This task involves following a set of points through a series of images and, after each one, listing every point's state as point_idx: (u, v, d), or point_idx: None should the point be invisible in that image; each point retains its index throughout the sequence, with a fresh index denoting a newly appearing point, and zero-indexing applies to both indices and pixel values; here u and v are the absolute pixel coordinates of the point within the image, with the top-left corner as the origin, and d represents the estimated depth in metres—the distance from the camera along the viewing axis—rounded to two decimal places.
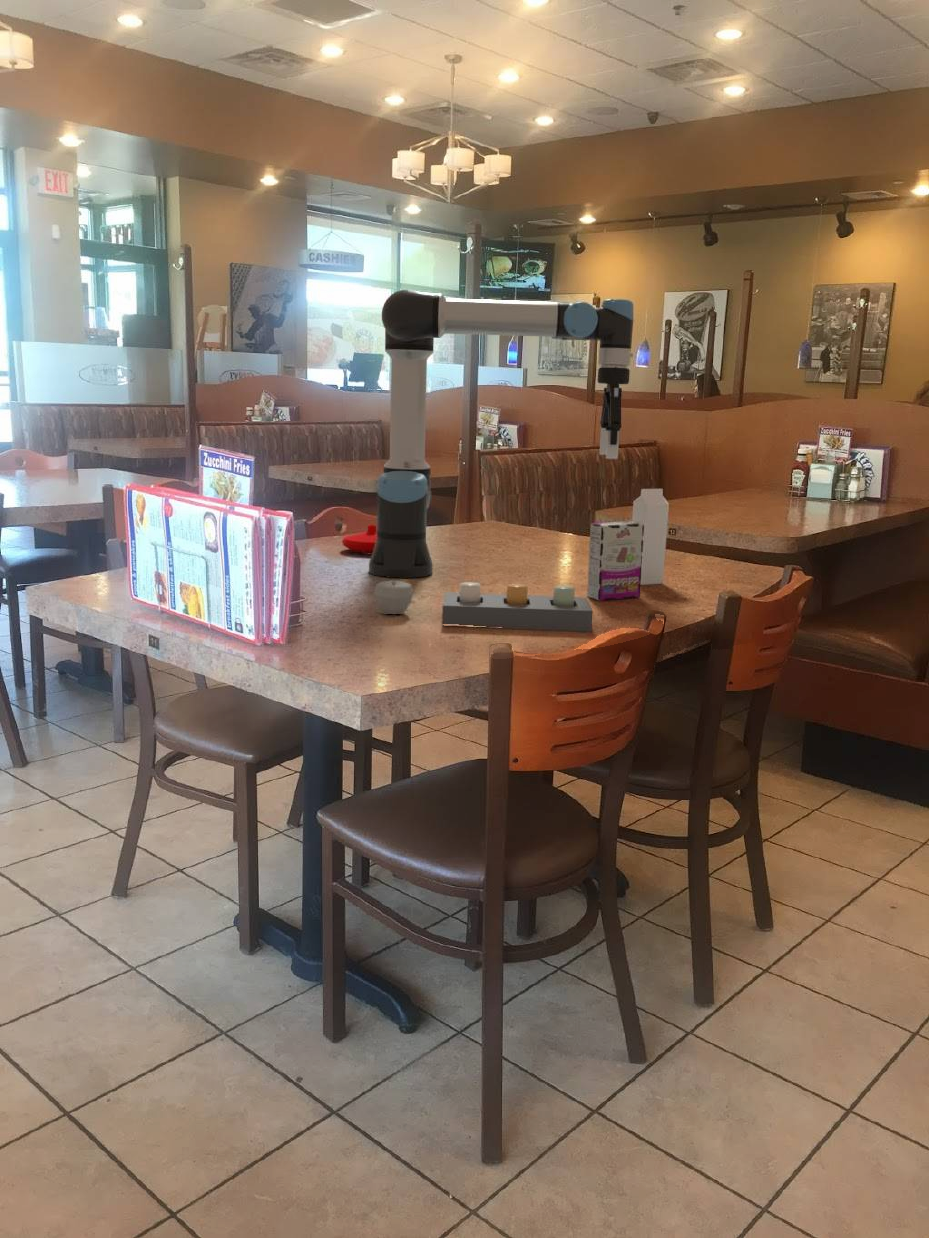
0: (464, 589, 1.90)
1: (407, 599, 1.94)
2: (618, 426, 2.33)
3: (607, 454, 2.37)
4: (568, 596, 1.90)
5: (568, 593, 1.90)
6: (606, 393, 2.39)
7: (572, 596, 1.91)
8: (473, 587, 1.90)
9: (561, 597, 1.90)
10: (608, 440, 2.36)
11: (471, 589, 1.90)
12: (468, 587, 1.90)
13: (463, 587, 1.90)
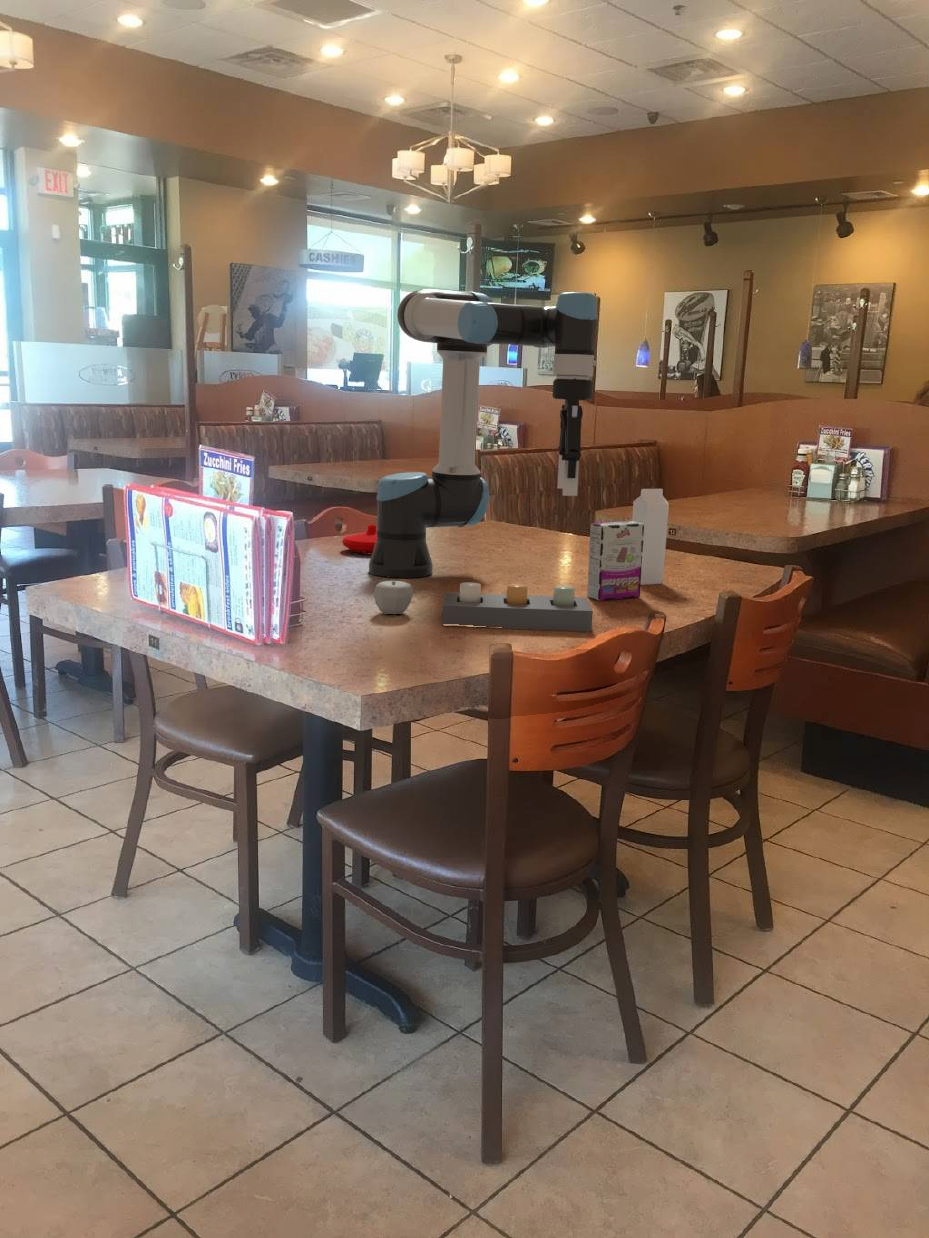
0: (464, 589, 1.90)
1: (407, 599, 1.94)
2: (577, 455, 1.83)
3: (564, 490, 1.88)
4: (568, 596, 1.90)
5: (568, 593, 1.90)
6: (563, 411, 1.89)
7: (572, 596, 1.91)
8: (473, 587, 1.90)
9: (561, 597, 1.90)
10: (565, 472, 1.87)
11: (471, 589, 1.90)
12: (468, 587, 1.90)
13: (463, 587, 1.90)
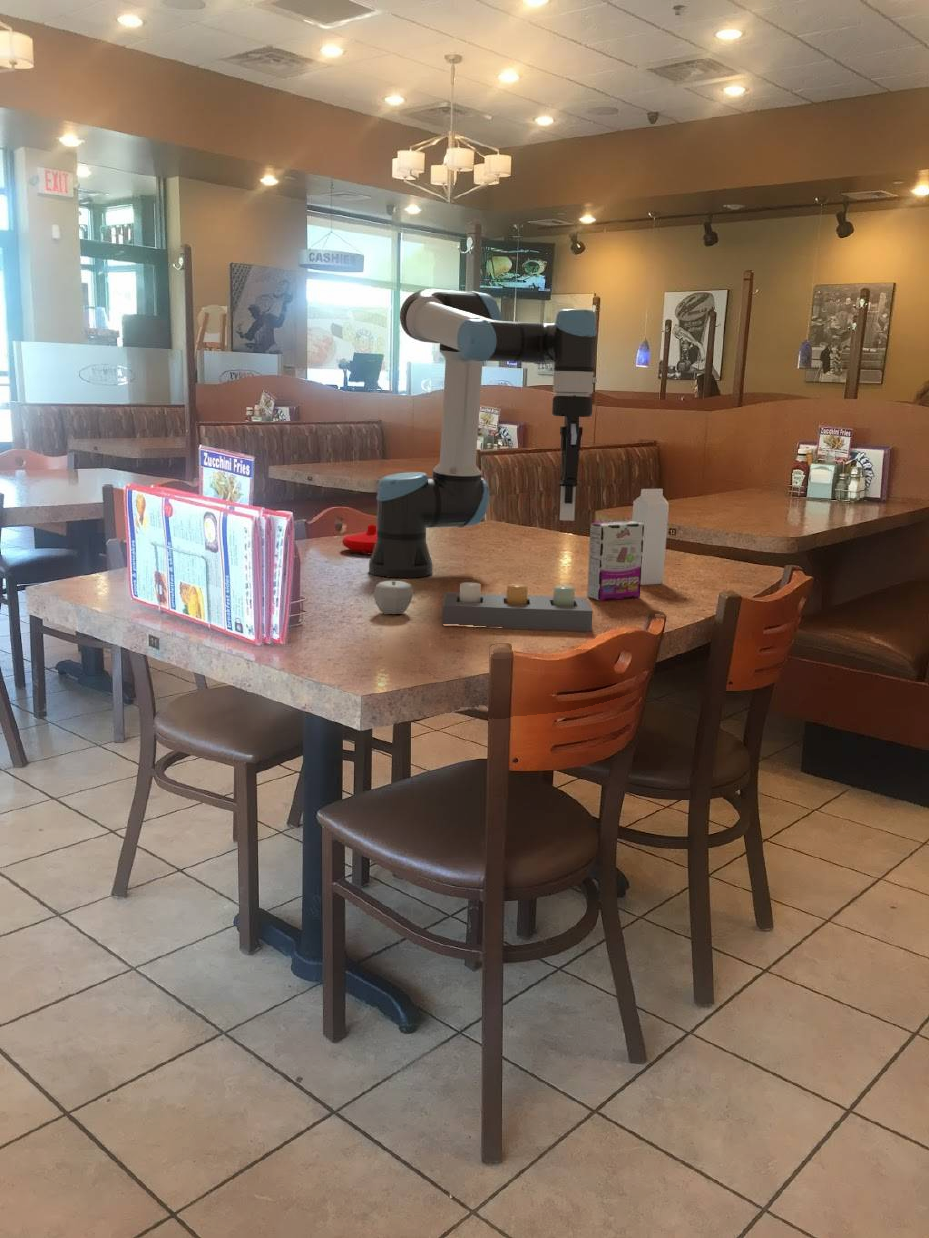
0: (464, 589, 1.90)
1: (407, 599, 1.94)
2: (573, 483, 1.89)
3: (561, 515, 1.93)
4: (568, 596, 1.90)
5: (568, 593, 1.90)
6: (563, 431, 1.88)
7: (572, 596, 1.91)
8: (473, 587, 1.90)
9: (561, 597, 1.90)
10: (562, 498, 1.92)
11: (471, 589, 1.90)
12: (468, 587, 1.90)
13: (463, 587, 1.90)
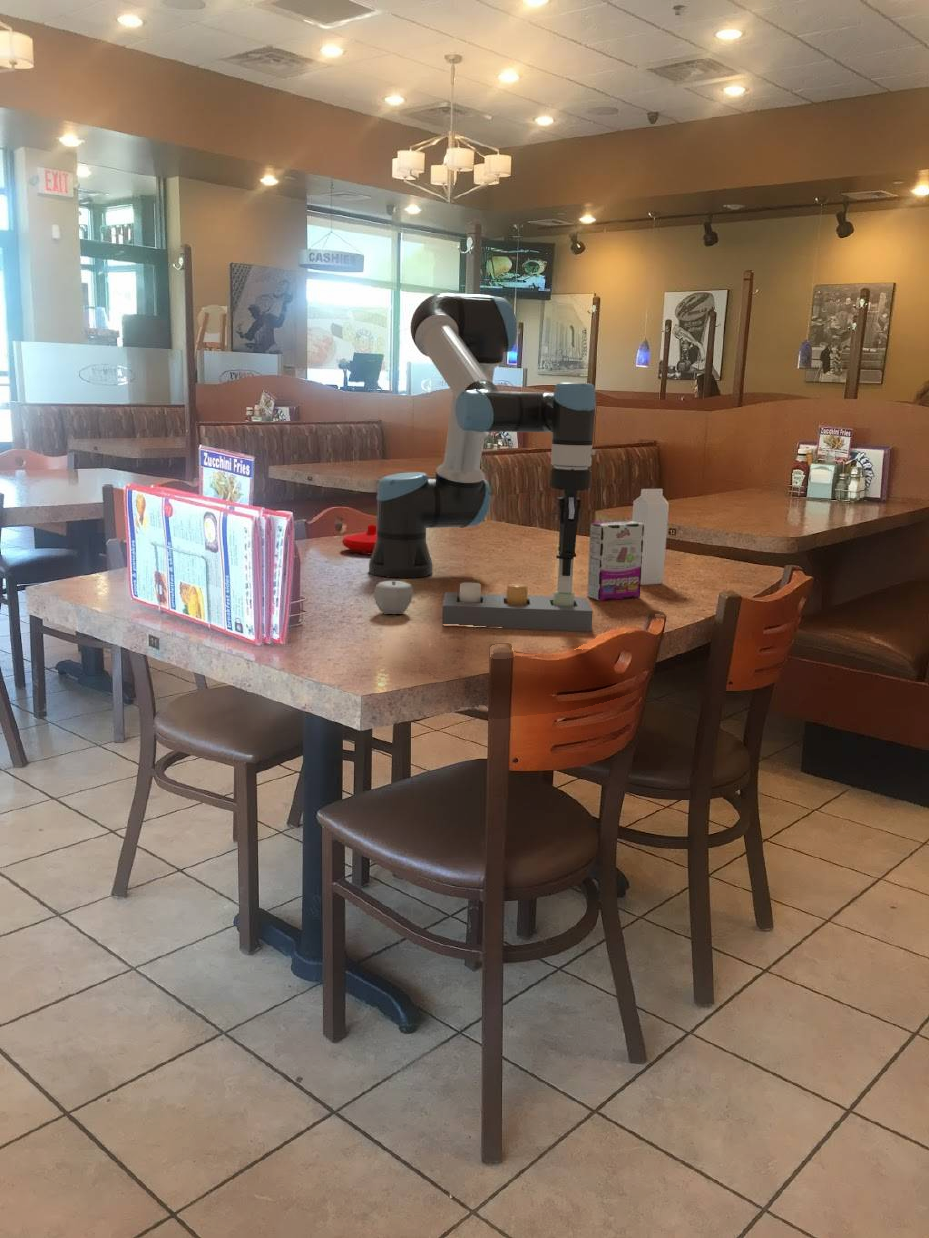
0: (464, 589, 1.90)
1: (407, 599, 1.94)
2: (571, 556, 1.87)
3: (559, 587, 1.91)
4: (568, 601, 1.90)
5: (567, 597, 1.90)
6: (561, 503, 1.86)
7: (572, 601, 1.91)
8: (473, 587, 1.90)
9: (560, 602, 1.90)
10: (560, 570, 1.90)
11: (471, 589, 1.90)
12: (468, 587, 1.90)
13: (463, 587, 1.90)
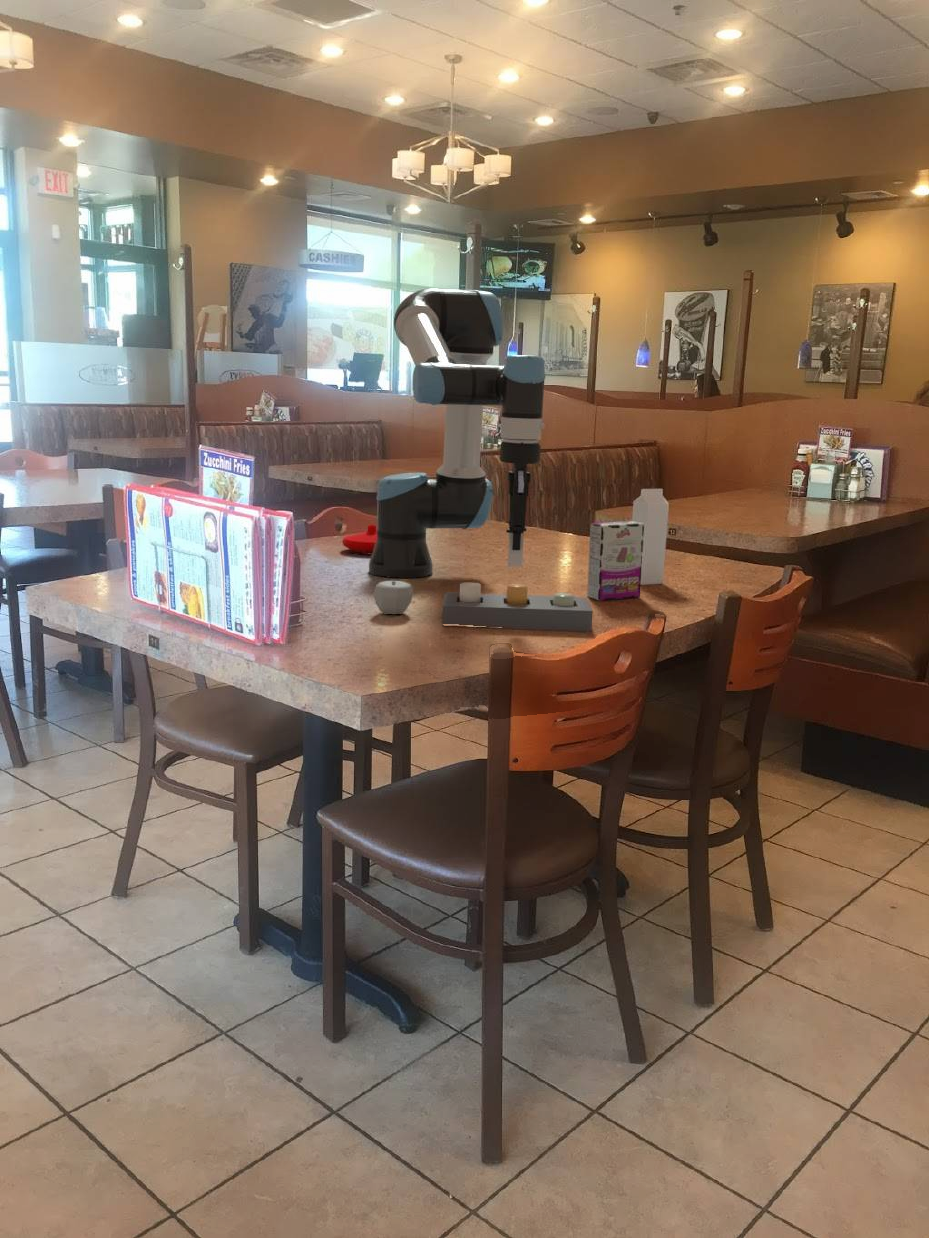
0: (464, 589, 1.90)
1: (407, 599, 1.94)
2: (521, 530, 1.86)
3: (509, 561, 1.90)
4: (568, 603, 1.90)
5: (567, 600, 1.90)
6: (510, 477, 1.85)
7: (572, 604, 1.91)
8: (473, 587, 1.90)
9: (560, 604, 1.90)
10: (510, 544, 1.90)
11: (471, 589, 1.90)
12: (468, 587, 1.90)
13: (463, 587, 1.90)
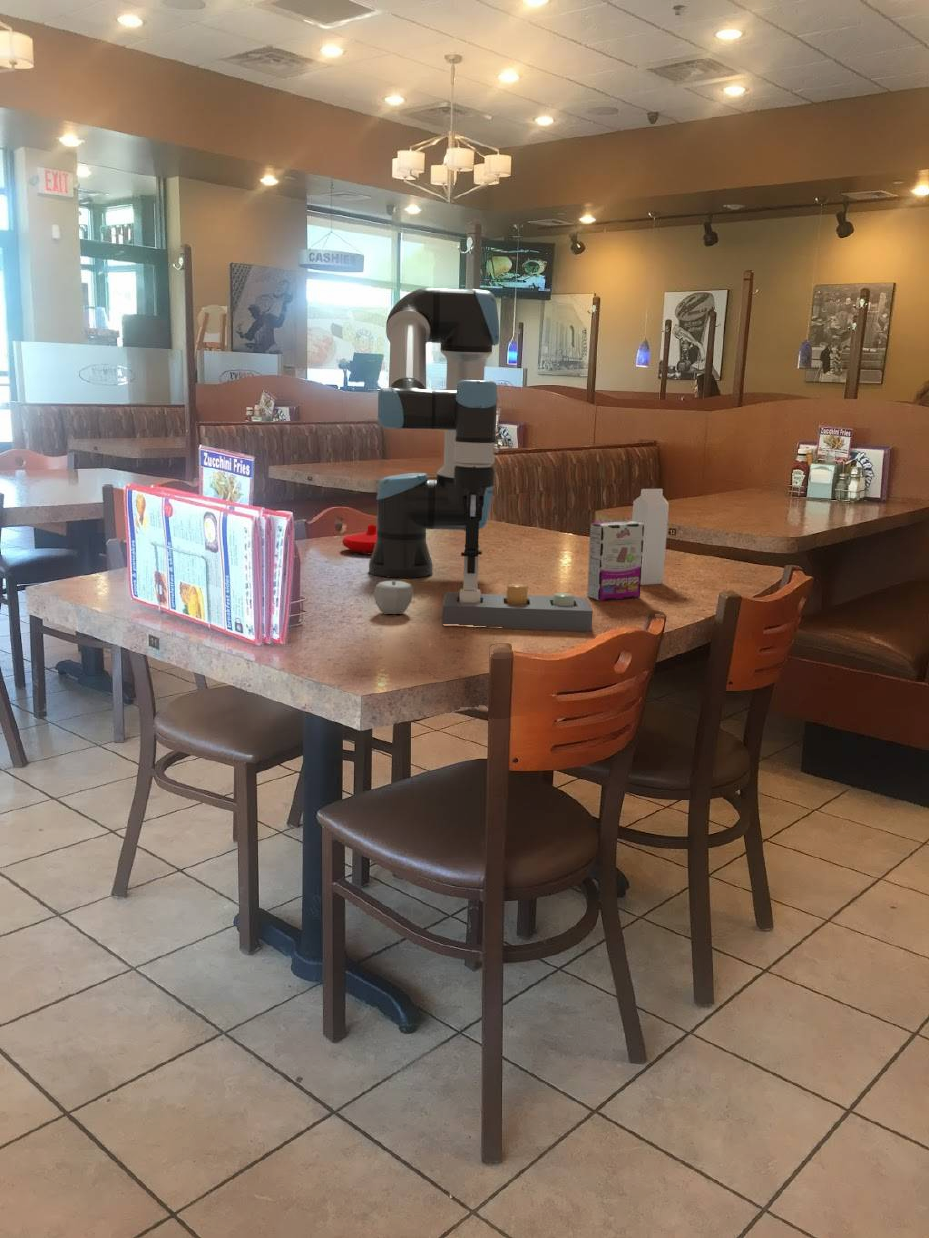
0: (464, 595, 1.91)
1: (407, 599, 1.94)
2: (474, 554, 1.87)
3: (464, 584, 1.91)
4: (568, 603, 1.90)
5: (567, 600, 1.90)
6: (464, 501, 1.86)
7: (572, 604, 1.91)
8: (473, 593, 1.90)
9: (560, 604, 1.90)
10: (465, 567, 1.90)
11: (471, 595, 1.90)
12: (468, 593, 1.90)
13: (463, 593, 1.91)
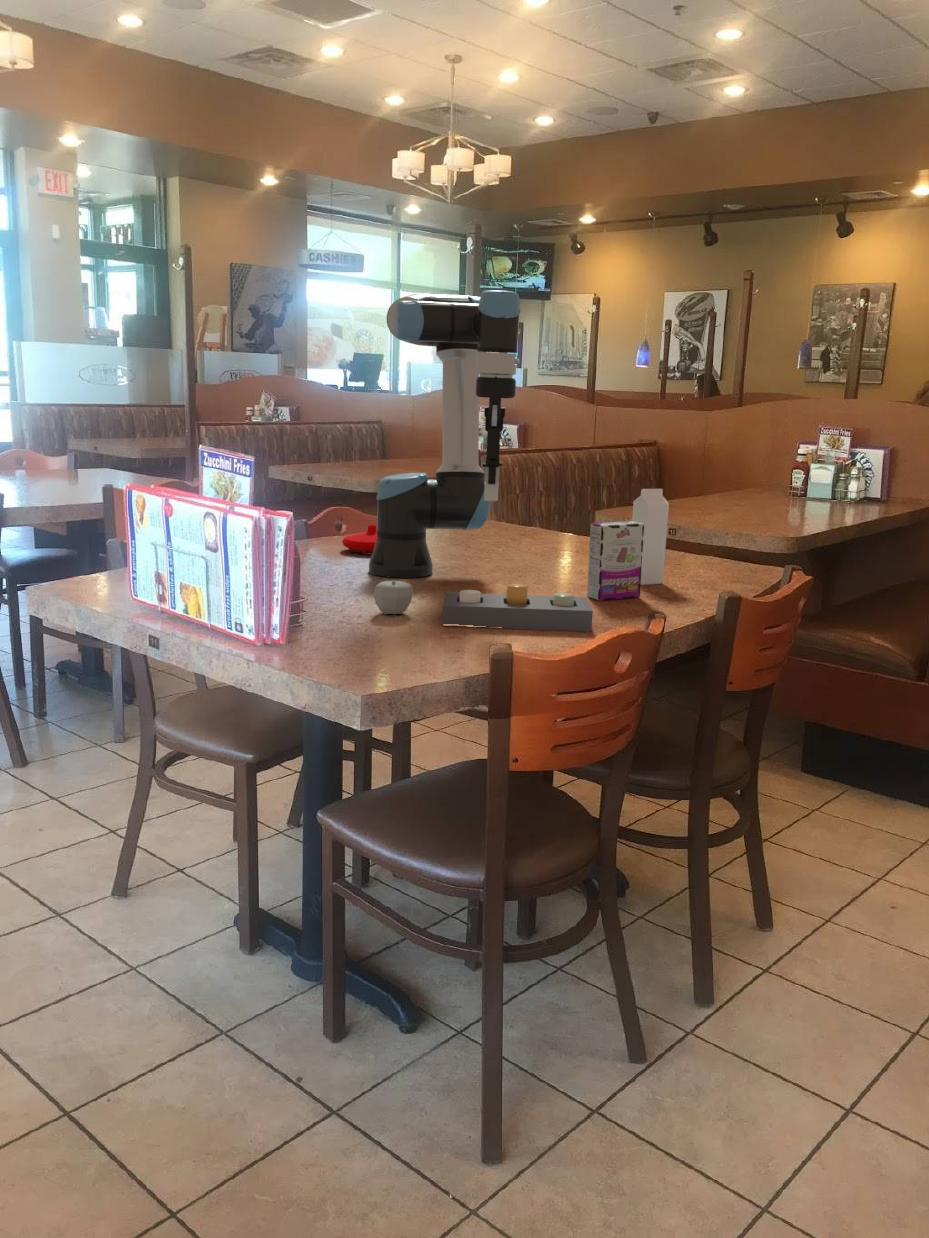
0: (464, 597, 1.91)
1: (407, 599, 1.94)
2: (495, 464, 1.91)
3: (485, 495, 1.95)
4: (568, 603, 1.90)
5: (567, 600, 1.90)
6: (485, 412, 1.90)
7: (572, 604, 1.91)
8: (473, 595, 1.90)
9: (560, 604, 1.90)
10: (486, 478, 1.94)
11: (471, 597, 1.90)
12: (468, 595, 1.90)
13: (463, 595, 1.91)
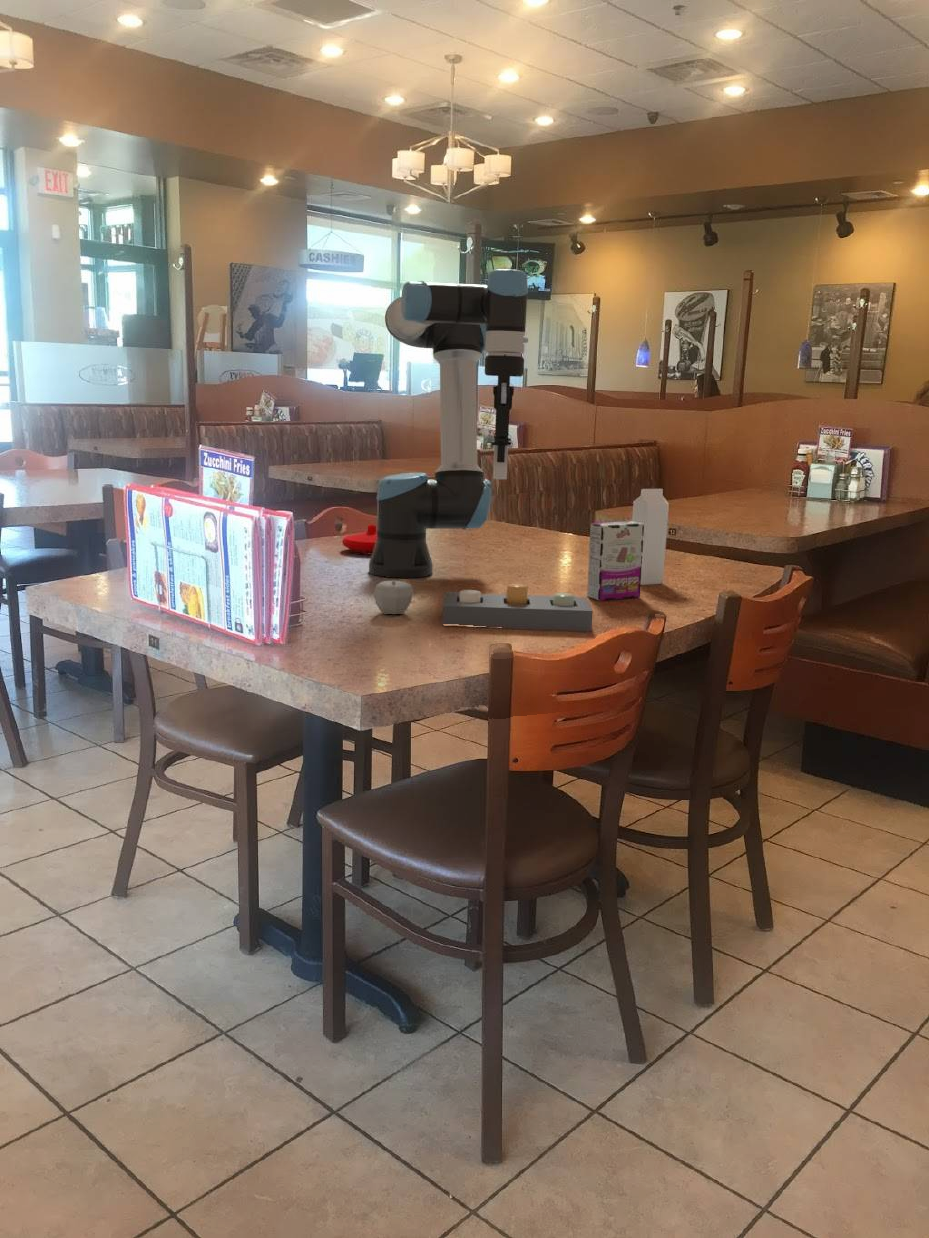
0: (464, 597, 1.91)
1: (407, 599, 1.94)
2: (504, 442, 1.92)
3: (494, 473, 1.96)
4: (568, 603, 1.90)
5: (567, 600, 1.90)
6: (494, 390, 1.91)
7: (572, 604, 1.91)
8: (473, 595, 1.90)
9: (560, 604, 1.90)
10: (495, 457, 1.95)
11: (471, 597, 1.90)
12: (468, 595, 1.90)
13: (463, 595, 1.91)
